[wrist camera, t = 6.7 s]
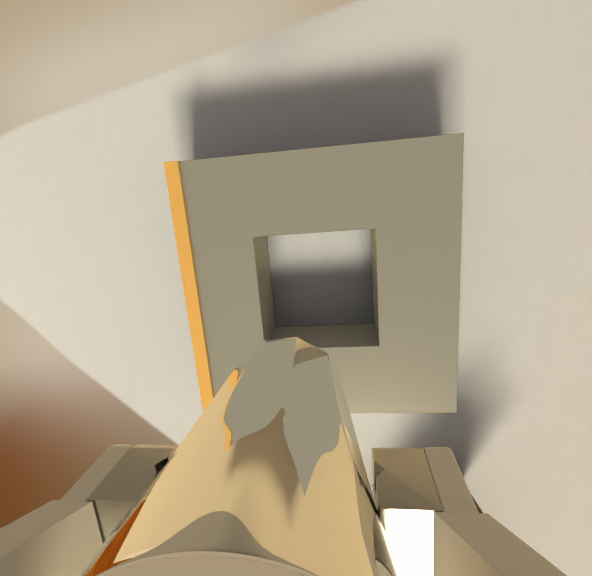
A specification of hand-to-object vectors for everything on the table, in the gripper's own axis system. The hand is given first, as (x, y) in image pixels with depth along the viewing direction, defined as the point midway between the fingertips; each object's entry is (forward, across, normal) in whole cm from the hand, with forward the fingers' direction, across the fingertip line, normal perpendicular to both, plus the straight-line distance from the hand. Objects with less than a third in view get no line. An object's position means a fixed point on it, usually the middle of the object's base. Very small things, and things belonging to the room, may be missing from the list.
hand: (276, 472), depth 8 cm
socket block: (+19, 0, 0) cm, 19 cm away
